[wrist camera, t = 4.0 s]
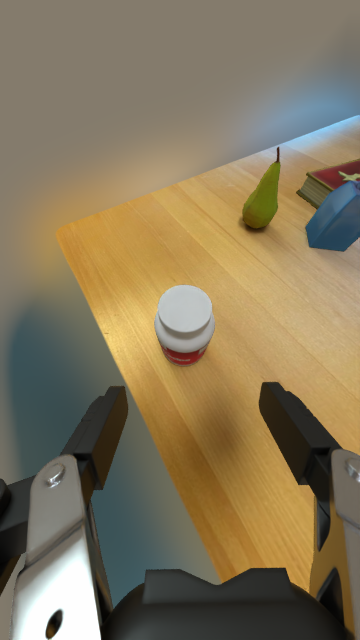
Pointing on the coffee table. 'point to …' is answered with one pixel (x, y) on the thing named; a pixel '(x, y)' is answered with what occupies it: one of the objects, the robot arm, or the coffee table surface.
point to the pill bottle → (184, 324)
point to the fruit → (263, 198)
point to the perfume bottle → (336, 219)
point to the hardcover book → (328, 181)
